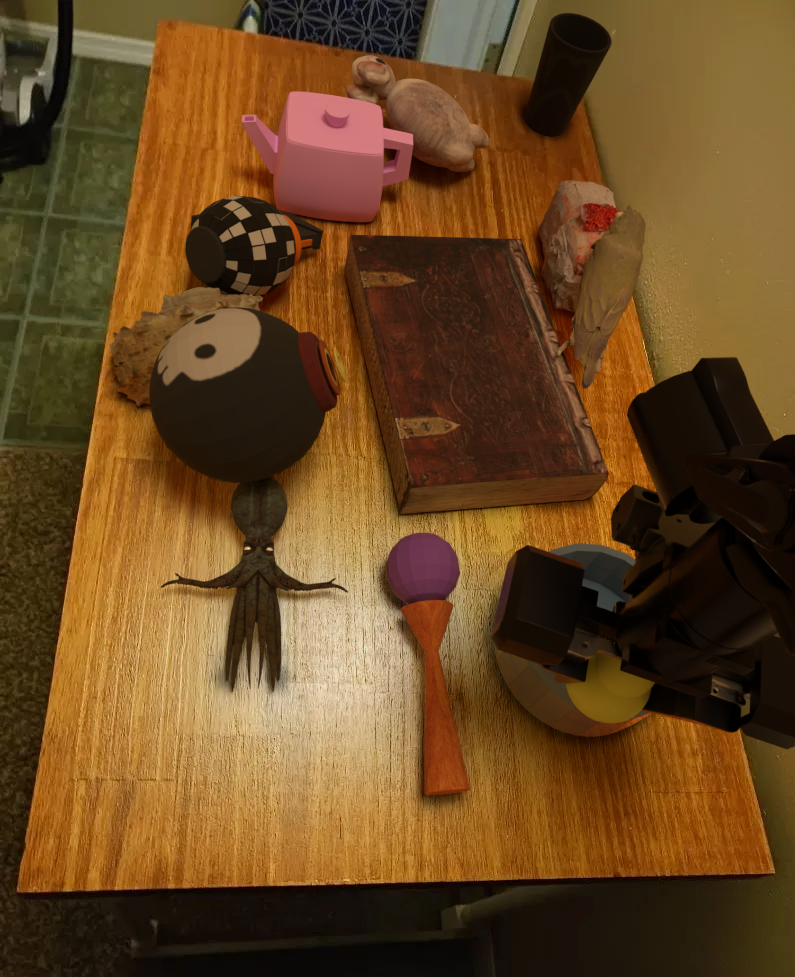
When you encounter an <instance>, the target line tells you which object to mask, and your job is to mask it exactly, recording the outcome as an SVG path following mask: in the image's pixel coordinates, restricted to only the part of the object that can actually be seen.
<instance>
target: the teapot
mask: <svg viewBox="0 0 795 977" xmlns="http://www.w3.org/2000/svg"><path fill="white" fill-rule="evenodd" d="M241 125H242V127H243V128H244V130H245V132H246V133H247V135H248V137H249V139H250V140H251V142H252V143H253V146H254V147H255V149H256V151H257V152H258V154H259V156H260V157H261V159H262V162H264V164H265V166H266V167H267V169H268V171H269V173H270V175H271V174H272V175H273V197H274V202H275V207H276V208H277V209H278V210H279V211H281V212H286V213H289V212H290V213H292V214H294V215H296V216H303V217H308V218H314V219H317V220H318V219H319V220H327V221H335V222H337V221H338V222H349V223H350V222H351V223H370V222H373V220H374V219H375V218H376V215H377V214H378V211H379V209H380V205H381V201H382V200H381V199H382V194H383V188H384V187H386V186H390V185H393V184H396V183H400V182H404V181H408V180H409V176H410V171H411V163H412V156H413V155H412V151H413V134H410V133H405V132H401V131H396V130H392V129H391V128H386V127H384V118H383V111H382V107H381V106H380V105H378V104H377V103H376V104H373V103H369V102H365V101H361V100H356V99H351V98H348V97H345V96H339V95H334V94H333V95H332V94H328V93H327V94H326V93H318V92H312V91H311V92H310V91H298V90H297V91H290V92H289V93H288V95H287V98H286V100H285V105H284V108H283V111H282V115H281V117H280V121H279V125H278V126H279V127H278V131H277V135H276V134H275V133H274V132H273V131H272V130H271V129H270V128H269V127H268V126H267V125H266V124H265V123H264V122H263V121H262V120H260V119H259V117H258V115H257V114H242V115H241ZM385 149H390V150H396V153H395V158H394V159H392V160H391V159H390V160H387V161H385Z"/></svg>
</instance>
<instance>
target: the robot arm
mask: <svg viewBox="0 0 795 977" xmlns="http://www.w3.org/2000/svg"><path fill="white" fill-rule="evenodd" d="M748 382H749V381H748V378H747V376H746V373H745V371H744V369H743V367H742V365H741V363H740V361H739V359H738V357H736V356H723V357H722V356H720V357H719V356H717V357H715V356H714V357H713V356H712V357H701V358H700V359H699V360H698V362H697V363H696V364H695V365H694V367H693V368H692V369H691V370H686V371H684V372H681V373H678V374H675V375H672V376H671V377H668V378H666V379H664V380H662V381H660V382H658V383H656V384H655V385H653V386H652V387H649V389H647V390H646V391H643V392H640V393H637V395H635V396H634V398H633V399H632V400H631V402H630V404H629V406H628V407H627V412H626V417H627V420H628V422H629V424H630V425H629V426H630V427H631V429H632V432H633V435H634V437H635V440H636V442H637V445H638V448H639V450H640V453H641V456H642V458H643V460H644V463H645V466H646V468H647V471H648V473H649V476H650V479H651V481H652V484H653V486H654V488H655V489H654V490H652V489H650V488H647V487H644V486H641V485H638V484H632V485H631V487H630V488H628V489H627V490H626V491H625V492H624V493H623V494H622V495H621V497H620V498H619V500H618V501H617V502H616V505H615V506H614V508H613V510H612V513H611V516H610V530H611V531H610V533H611V540H612V541H613V542H615V543H619V544H622V545H624V546H627V547H629V549H630V550H632V551H634V559H635V561H636V563H635V564H634V565H633V566H632V567H631V568H630V569H629V570H628V571H627V572H626V573H625V574H624V579H623V586H622V592H624V593H627V594H630V596H629V601H628V602H627V603H625V602H622V601H617V602H616V603H615V604H614V605H613V612H612V611H609V610H607V609H604V608H601V607H598V606H597V602H598V595H599V591H596V590H593V589H591V588H588V587H585V586H582V583H583V577H584V571H585V569H584V568H583V566H582V564H581V563H579V562H576V561H573V560H570V559H567V558H564V557H562V556H559V555H556V554H553V553H550V552H549V551H548V550H544V549H541V548H539V547H536V546H533V545H530V544H526V545H525V546H522V547H521V548H519V549H517V550H516V551H515V552H514V553H513V554H512V556H511V557H510V559H509V560H508V562H507V564H506V567H505V571H504V572H505V573H504V577H503V581H502V586H501V590H500V595H499V599H498V604H497V607H496V613H495V617H494V621H493V625H492V630H491V634H490V640H491V641H492V643H493V645H494V644H495V646H496V648H497V649H498V650H500V651H503V652H505V653H508V654H511V655H514V656H517V657H520V658H523V659H526V660H529V661H532V662H534V663H537V664H539V665H540V666H541V667H542V668H543V669H545V670H548V671H551V672H552V673H553V674H554V675H555V676H556V677H555V681H556V682H559V683H582V682H585V681H586V675H587V668H588V661H589V658H591V657H592V656H594V655H595V653H601V654H604V655H607V656H610V657H612V658H615V659H618V660H621V666H620V671H623V672H626V673H629V674H632V675H634V676H637V677H640V678H643V679H646V680H649V681H652V682H655V684H654V685H653V687H652V688H651V693H650V696H649V699H648V701H647V703H646V705H645V706H644V707H643V709H642V710H641V711H645V712H649V713H652V714H653V715H657V716H662V717H667V718H671V719H674V720H679V721H683V722H687V723H692V724H696V725H699V726H703V727H707V728H712V729H714V730H719V731H722V732H724V733H729V734H733V733H736V732H738V731H739V730H741V731H742V733H743V735H744V736H746V737H749V738H752V739H754V740H758V741H761V742H764V743H766V744H768V745H769V744H770V745H772V746H776V747H779V748H781V749H784V750H789V749H792V748H795V433H792V434H784V435H782V436H781V437H778V438H777V439H774V437H773V435H772V433H771V431H770V430H769V427H768V425H767V423H766V421H765V419H764V417H763V415H762V412H761V411H760V409H759V406H758V404H757V403H756V400H755V398H754V396H753V394H752V392H751V390H750V387H749V383H748ZM601 638H602V639H601ZM614 643H615V644H614ZM746 699H747V700H749V713H747V714H745V715H742V708H743V707H744V706H746V705H747V700H746Z"/></svg>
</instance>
